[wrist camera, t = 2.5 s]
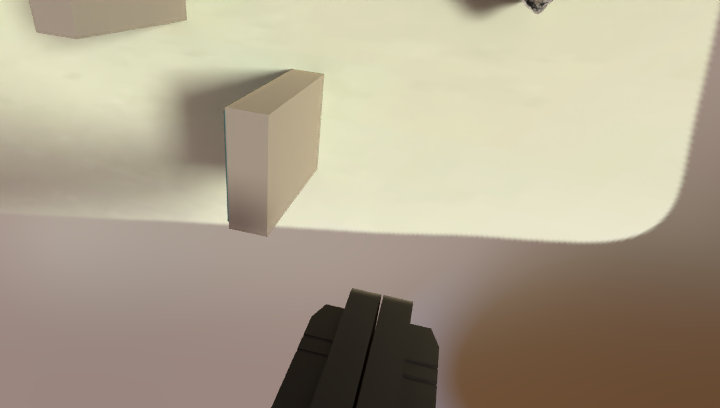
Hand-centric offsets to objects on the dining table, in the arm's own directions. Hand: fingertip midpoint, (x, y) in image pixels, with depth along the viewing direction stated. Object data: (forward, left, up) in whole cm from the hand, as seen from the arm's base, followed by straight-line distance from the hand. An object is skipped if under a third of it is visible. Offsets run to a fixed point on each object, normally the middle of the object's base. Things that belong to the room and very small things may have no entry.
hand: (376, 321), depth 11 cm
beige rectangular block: (0, -6, -13) cm, 14 cm away
